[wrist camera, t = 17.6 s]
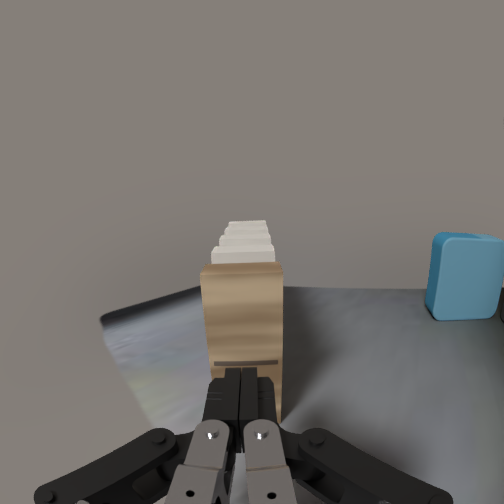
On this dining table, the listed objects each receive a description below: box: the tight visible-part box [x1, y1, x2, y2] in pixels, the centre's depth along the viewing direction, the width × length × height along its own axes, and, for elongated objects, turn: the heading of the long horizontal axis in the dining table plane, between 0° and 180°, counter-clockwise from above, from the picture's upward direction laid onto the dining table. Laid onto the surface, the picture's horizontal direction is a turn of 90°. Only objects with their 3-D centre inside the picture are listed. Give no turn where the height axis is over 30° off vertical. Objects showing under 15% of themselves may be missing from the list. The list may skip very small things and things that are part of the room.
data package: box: [425, 232, 504, 321], centre depth 33 cm, size 12×4×12 cm, turn 75°
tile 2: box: [211, 245, 275, 264], centre depth 26 cm, size 2×5×13 cm, turn 90°
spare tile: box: [200, 262, 283, 424], centre depth 20 cm, size 2×5×13 cm, turn 91°
